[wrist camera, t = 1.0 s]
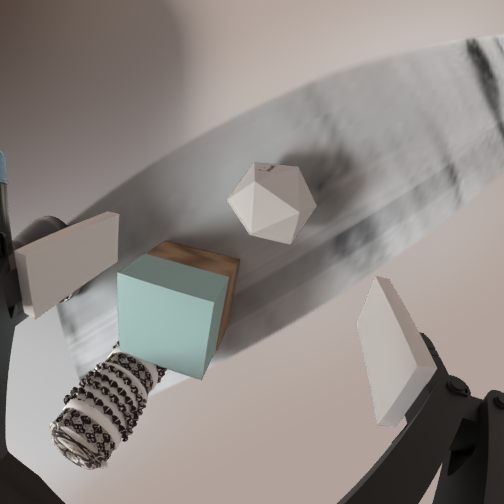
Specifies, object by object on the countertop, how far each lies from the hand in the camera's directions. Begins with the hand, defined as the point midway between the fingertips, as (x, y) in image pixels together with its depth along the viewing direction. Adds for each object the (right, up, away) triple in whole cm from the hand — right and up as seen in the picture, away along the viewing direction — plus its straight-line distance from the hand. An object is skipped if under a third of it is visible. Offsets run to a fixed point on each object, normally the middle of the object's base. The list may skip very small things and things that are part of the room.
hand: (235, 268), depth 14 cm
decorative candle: (-15, -13, +31) cm, 37 cm away
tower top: (-8, -5, +21) cm, 23 cm away
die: (+4, +7, +21) cm, 23 cm away
